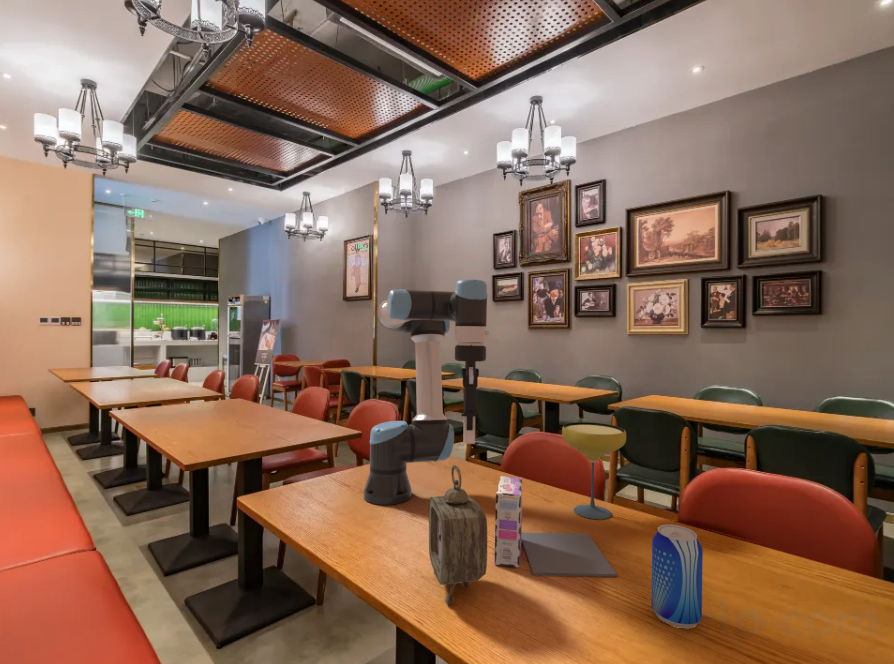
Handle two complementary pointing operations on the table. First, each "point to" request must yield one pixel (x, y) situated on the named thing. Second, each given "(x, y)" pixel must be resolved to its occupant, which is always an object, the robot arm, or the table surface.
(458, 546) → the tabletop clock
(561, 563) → the mat
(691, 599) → the beer can
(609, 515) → the cocktail glass
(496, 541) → the candy box
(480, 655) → the table surface
